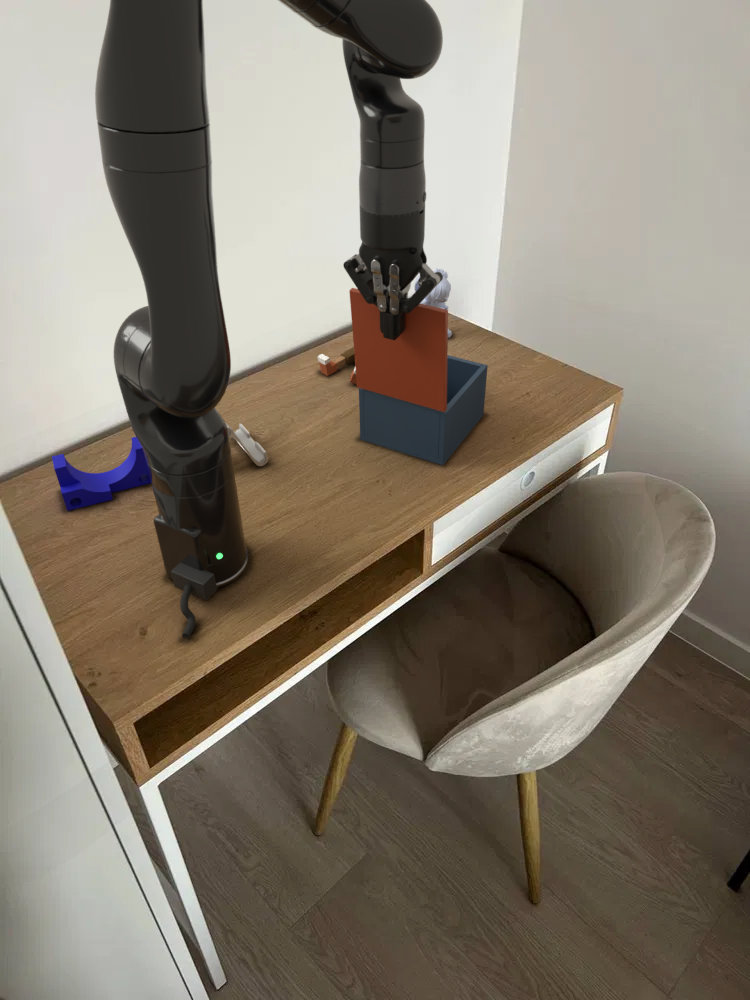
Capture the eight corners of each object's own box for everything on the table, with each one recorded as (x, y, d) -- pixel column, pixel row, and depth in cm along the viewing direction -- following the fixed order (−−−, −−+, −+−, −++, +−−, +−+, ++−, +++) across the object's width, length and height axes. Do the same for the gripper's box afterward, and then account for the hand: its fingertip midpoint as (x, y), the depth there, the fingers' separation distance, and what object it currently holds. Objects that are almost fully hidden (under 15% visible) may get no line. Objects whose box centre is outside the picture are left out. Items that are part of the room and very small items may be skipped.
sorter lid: (352, 287, 105) (349, 290, 104) (448, 309, 99) (445, 312, 99) (359, 384, 115) (356, 387, 114) (447, 409, 110) (444, 412, 109)
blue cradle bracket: (67, 510, 109) (55, 475, 105) (63, 491, 112) (51, 456, 108) (156, 488, 112) (148, 452, 108) (150, 470, 116) (142, 435, 112)
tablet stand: (268, 464, 116) (262, 415, 111) (217, 482, 113) (208, 432, 108) (243, 434, 122) (236, 386, 117) (194, 451, 119) (185, 403, 113)
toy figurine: (429, 347, 142) (432, 282, 134) (408, 333, 146) (409, 269, 138) (461, 336, 145) (464, 272, 137) (439, 322, 149) (441, 260, 141)
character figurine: (305, 348, 135) (383, 303, 143) (309, 372, 139) (385, 327, 147) (352, 375, 129) (432, 326, 137) (356, 400, 132) (433, 351, 140)
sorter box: (405, 393, 130) (405, 344, 125) (483, 415, 125) (487, 365, 120) (359, 439, 121) (358, 388, 115) (443, 465, 115) (445, 413, 110)
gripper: (325, 201, 93) (332, 337, 104) (429, 220, 87) (426, 362, 99) (358, 181, 98) (362, 313, 109) (459, 198, 92) (452, 335, 104)
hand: (392, 336), depth 104 cm, fingers closed
